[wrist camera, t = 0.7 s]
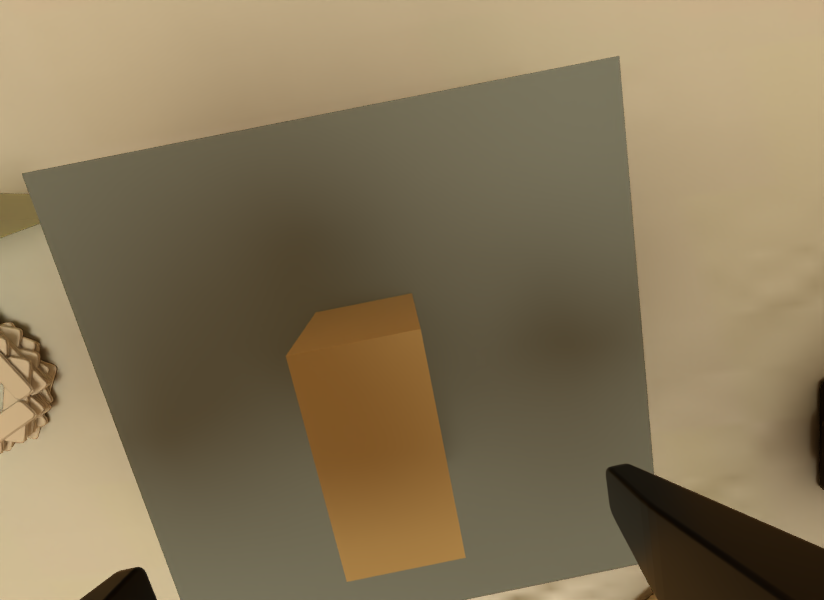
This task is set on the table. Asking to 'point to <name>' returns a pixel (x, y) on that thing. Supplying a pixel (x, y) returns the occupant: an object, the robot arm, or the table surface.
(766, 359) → the table surface
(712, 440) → the table surface
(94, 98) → the table surface
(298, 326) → the lid
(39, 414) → the right angle wall
